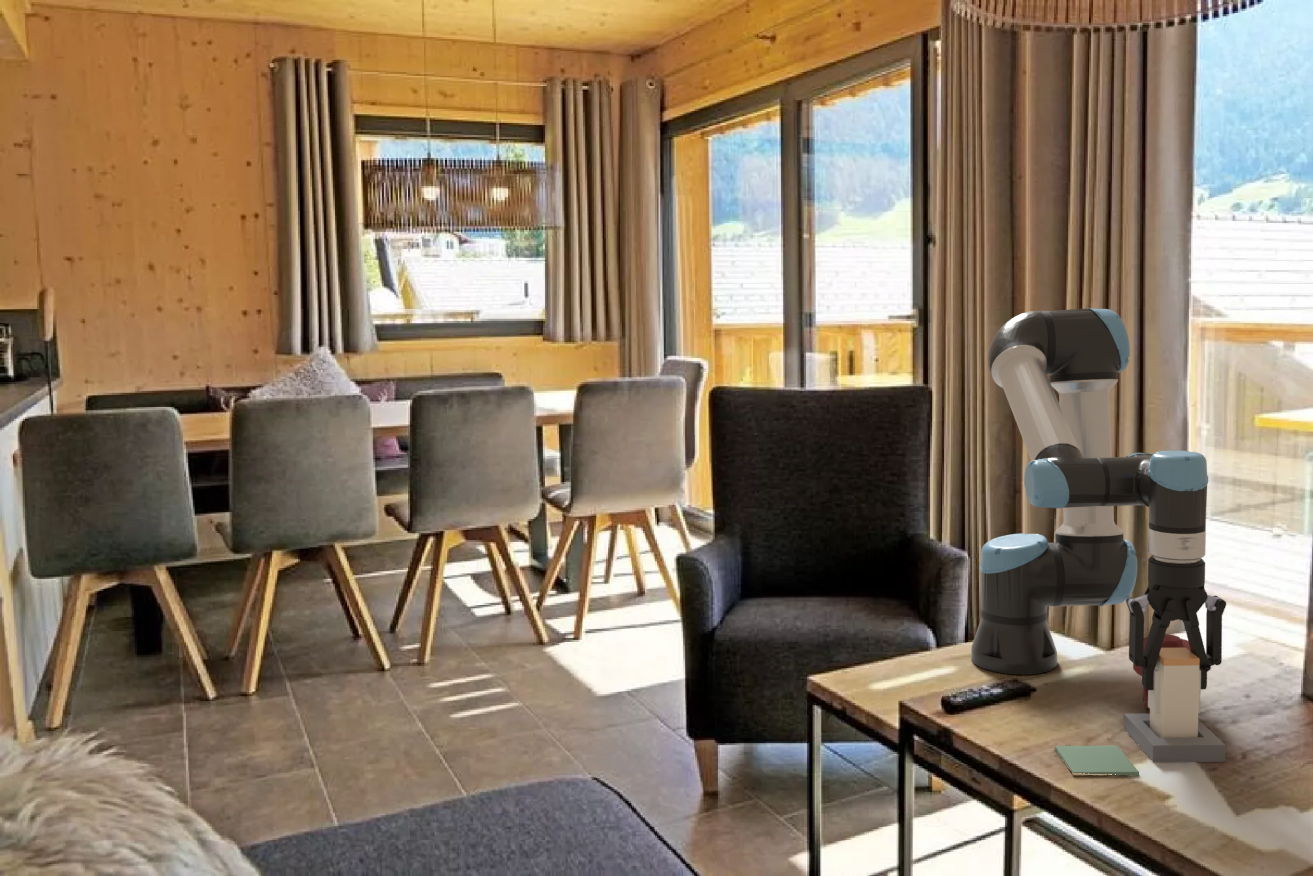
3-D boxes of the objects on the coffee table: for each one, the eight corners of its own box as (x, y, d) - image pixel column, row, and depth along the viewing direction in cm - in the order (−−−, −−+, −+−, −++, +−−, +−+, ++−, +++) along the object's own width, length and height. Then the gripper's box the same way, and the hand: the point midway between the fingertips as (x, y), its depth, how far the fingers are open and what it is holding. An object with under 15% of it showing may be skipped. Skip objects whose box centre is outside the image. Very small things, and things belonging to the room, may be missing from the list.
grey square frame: (1123, 729, 166) (1124, 713, 166) (1190, 728, 166) (1191, 713, 165) (1152, 762, 155) (1153, 745, 154) (1225, 761, 154) (1225, 745, 153)
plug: (1149, 730, 163) (1151, 648, 161) (1183, 730, 162) (1185, 647, 161) (1162, 744, 158) (1163, 659, 156) (1197, 744, 157) (1199, 658, 156)
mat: (1054, 749, 160) (1054, 746, 160) (1117, 749, 159) (1117, 745, 159) (1073, 776, 151) (1073, 772, 151) (1139, 775, 150) (1139, 771, 150)
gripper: (1121, 565, 154) (1119, 720, 157) (1253, 562, 152) (1248, 719, 155) (1104, 552, 161) (1102, 701, 164) (1229, 549, 160) (1225, 699, 163)
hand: (1173, 709), depth 160 cm, fingers closed on plug, 5 cm apart
